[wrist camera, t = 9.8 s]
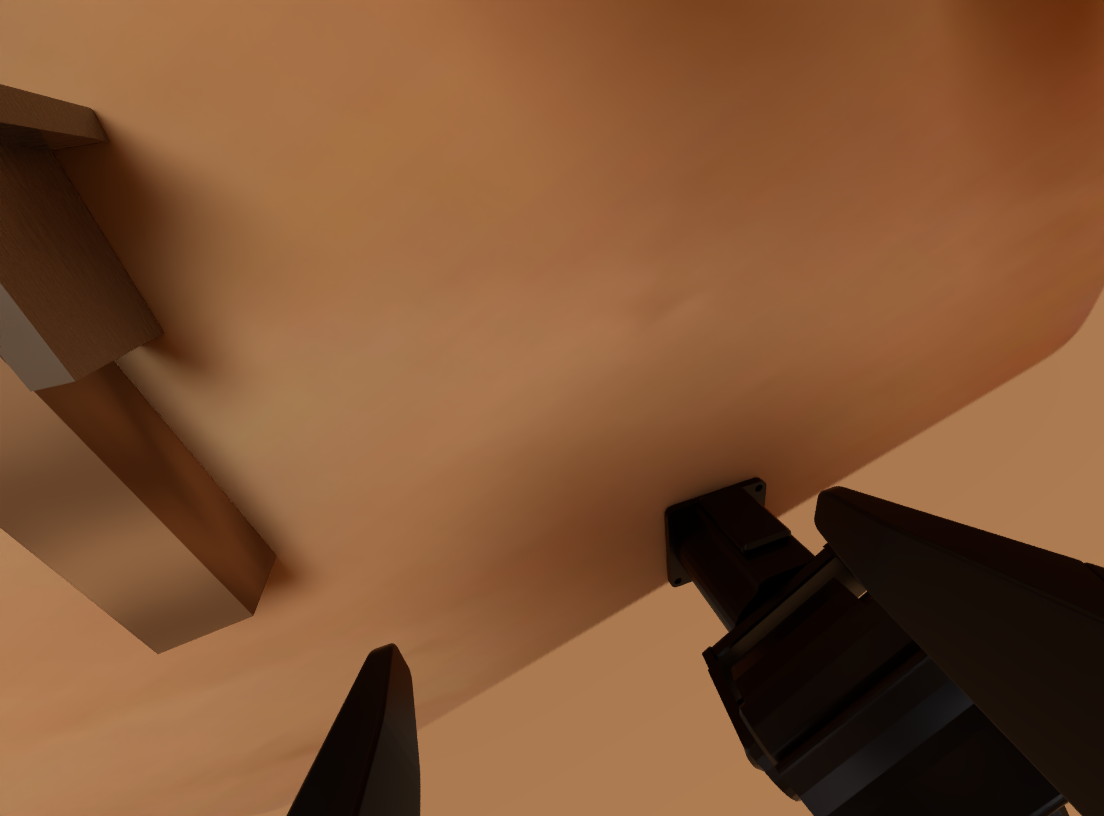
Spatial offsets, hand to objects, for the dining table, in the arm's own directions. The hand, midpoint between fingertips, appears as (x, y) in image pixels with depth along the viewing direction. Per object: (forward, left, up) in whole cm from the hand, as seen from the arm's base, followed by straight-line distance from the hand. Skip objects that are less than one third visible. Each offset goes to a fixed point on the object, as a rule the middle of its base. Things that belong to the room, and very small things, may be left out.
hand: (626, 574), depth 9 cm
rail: (+1, +15, -12) cm, 19 cm away
